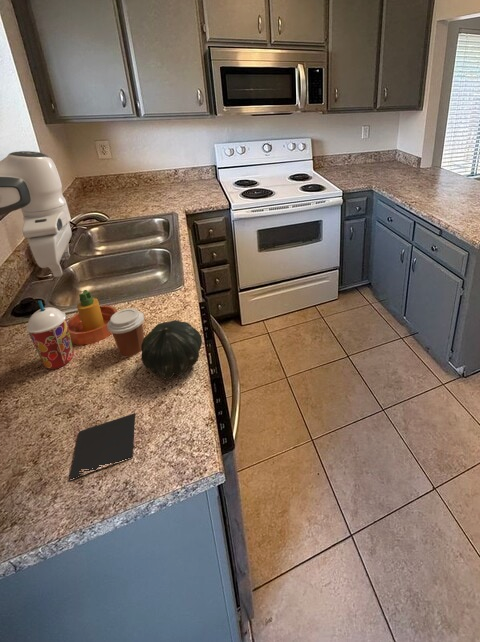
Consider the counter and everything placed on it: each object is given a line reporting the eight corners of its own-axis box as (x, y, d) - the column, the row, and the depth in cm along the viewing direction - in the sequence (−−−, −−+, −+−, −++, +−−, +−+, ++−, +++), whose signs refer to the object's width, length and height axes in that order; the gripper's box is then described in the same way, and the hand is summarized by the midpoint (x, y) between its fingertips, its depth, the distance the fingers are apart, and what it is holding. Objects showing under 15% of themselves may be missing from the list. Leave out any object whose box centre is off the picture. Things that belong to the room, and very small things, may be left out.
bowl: (64, 351, 102) (60, 339, 100) (73, 323, 113) (70, 312, 112) (118, 338, 107) (114, 326, 105) (121, 312, 118) (118, 301, 117)
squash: (177, 319, 106) (145, 307, 94) (219, 333, 101) (191, 323, 89) (154, 369, 101) (116, 364, 88) (197, 386, 96) (163, 383, 83)
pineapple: (83, 337, 106) (71, 299, 102) (86, 326, 111) (75, 289, 106) (103, 332, 109) (93, 294, 104) (105, 321, 113) (96, 285, 108)
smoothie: (85, 356, 100) (66, 296, 93) (53, 378, 93) (30, 314, 86) (66, 347, 103) (47, 288, 96) (34, 368, 96) (11, 305, 89)
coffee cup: (118, 343, 105) (109, 309, 101) (151, 336, 108) (144, 302, 103) (111, 365, 97) (102, 329, 93) (148, 357, 100) (140, 322, 95)
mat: (69, 481, 69) (69, 479, 69) (79, 432, 79) (79, 431, 78) (132, 457, 73) (132, 456, 73) (135, 414, 83) (134, 413, 83)
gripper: (42, 205, 95) (56, 252, 100) (19, 234, 77) (37, 289, 82) (70, 202, 97) (82, 247, 102) (54, 229, 80) (70, 282, 85)
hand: (62, 266), depth 92 cm, fingers open, 8 cm apart
